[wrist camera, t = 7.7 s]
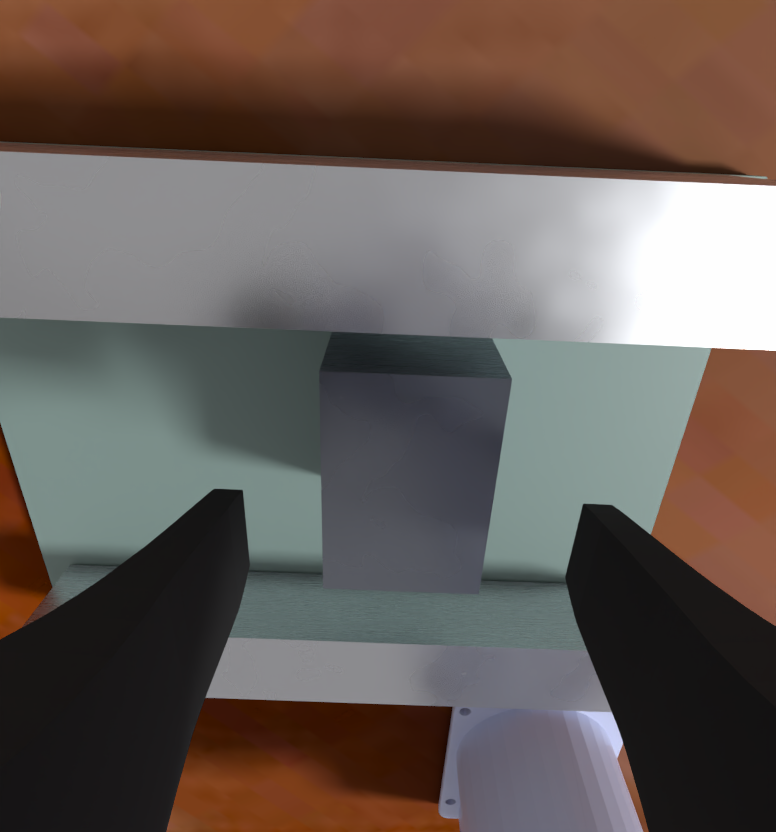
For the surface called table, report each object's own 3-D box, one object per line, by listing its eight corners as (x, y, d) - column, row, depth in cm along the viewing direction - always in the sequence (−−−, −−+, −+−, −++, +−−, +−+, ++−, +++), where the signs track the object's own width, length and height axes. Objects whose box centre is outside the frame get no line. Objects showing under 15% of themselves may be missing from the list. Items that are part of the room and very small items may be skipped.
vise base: (603, 641, 23) (665, 788, 18) (79, 622, 23) (-15, 764, 18) (748, 175, 15) (940, 193, 10) (-67, 138, 15) (-321, 136, 9)
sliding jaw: (591, 641, 22) (620, 712, 19) (87, 623, 21) (43, 691, 19) (608, 585, 20) (641, 652, 18) (70, 564, 20) (20, 629, 17)
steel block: (458, 484, 18) (478, 594, 14) (340, 480, 18) (323, 588, 14) (478, 311, 16) (511, 378, 11) (340, 305, 16) (319, 370, 11)
